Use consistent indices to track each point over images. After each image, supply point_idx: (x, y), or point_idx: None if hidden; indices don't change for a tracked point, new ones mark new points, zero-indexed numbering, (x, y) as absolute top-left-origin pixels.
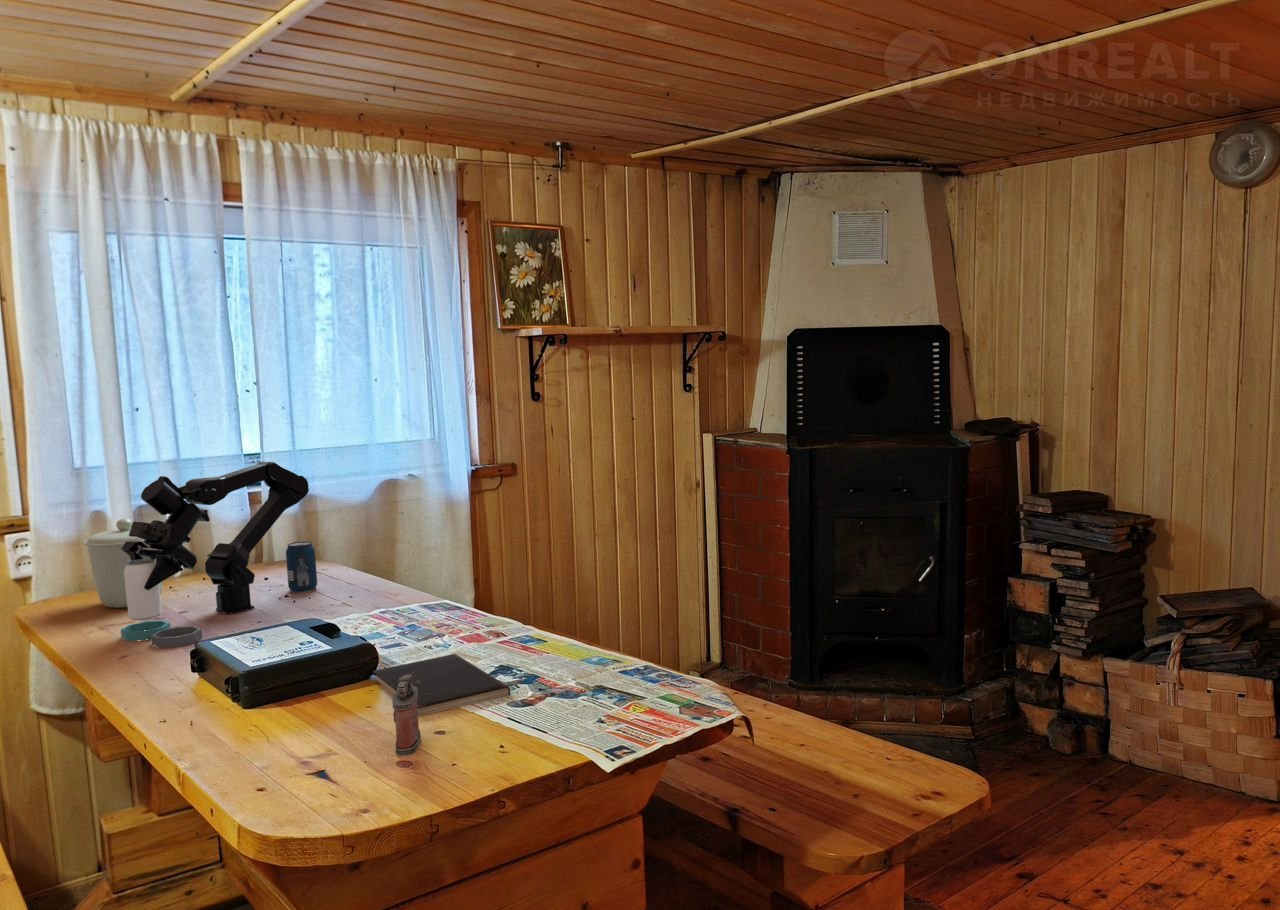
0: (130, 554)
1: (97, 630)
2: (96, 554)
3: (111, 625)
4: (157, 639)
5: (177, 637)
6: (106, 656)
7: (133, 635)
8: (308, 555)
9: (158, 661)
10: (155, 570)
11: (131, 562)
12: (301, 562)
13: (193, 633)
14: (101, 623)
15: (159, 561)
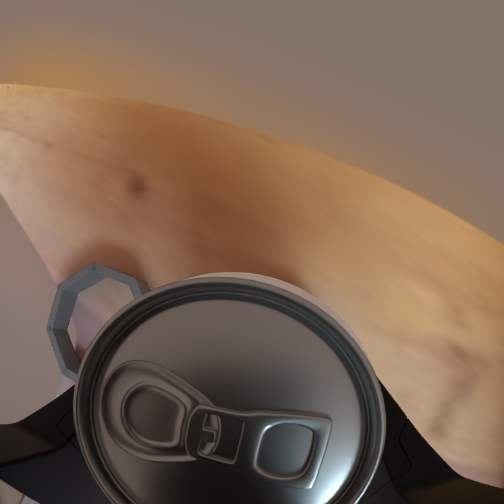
0: (496, 498)
1: (455, 334)
2: None
3: (461, 383)
4: (101, 265)
5: (58, 286)
6: (183, 172)
7: None
8: None
9: (48, 197)
10: (64, 399)
11: (370, 430)
12: None
13: (47, 326)
14: (495, 379)
15: (6, 431)
